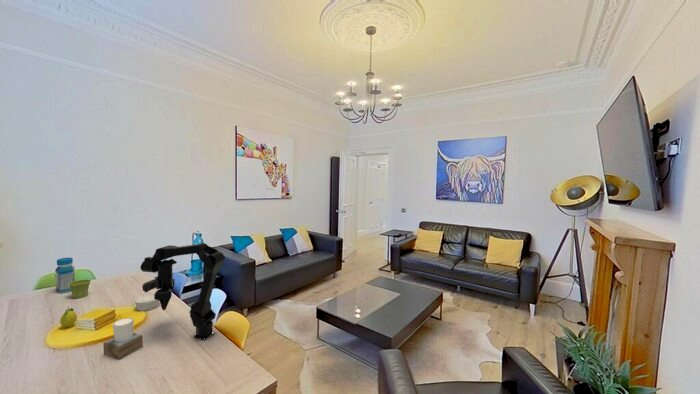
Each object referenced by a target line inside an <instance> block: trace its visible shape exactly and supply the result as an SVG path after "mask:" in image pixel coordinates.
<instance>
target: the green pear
mask: <svg viewBox="0 0 700 394" xmlns="http://www.w3.org/2000/svg"><path fill="white" fill-rule="evenodd" d="M77 320H78V316H77V313H76V312H75V311H74V308H73V307H71V308H70V306H68V305H67V309H65V312H64V313H62V315H61V316H60V320H59V321H60V325H61V326H62V327H69V326H70V327H71V326H72V325H73V324H75V323H76V322H75V321H77Z"/></svg>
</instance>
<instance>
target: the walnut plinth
mask: <svg viewBox="0 0 700 394" xmlns="http://www.w3.org/2000/svg"><path fill="white" fill-rule="evenodd" d="M143 337H144V336H143V334H139V333H135V332H133V334H132V337H131V338H130V339H128V340H126V341H123V342H116V341H115V338H114V337H112V338H110V339H108V340H106V341H104V342H103V355H104V356H107V357H111V358H114V359H116V360H122V359H123V358H125V357H127V356H129V355H131V354H132V353H133V352H136V351H137V350H139V349H141V348H142V347H144V346H143V345H144V344H143V343H144V341H143Z"/></svg>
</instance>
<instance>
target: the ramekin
mask: <svg viewBox="0 0 700 394" xmlns="http://www.w3.org/2000/svg"><path fill="white" fill-rule="evenodd" d="M154 294H155V293H150V294H145V295H141V296H139V297H137V298H136V299H134V304H135V307H136V310H138V311H140V312H145V311H150V310H154V309H155V308H157V307H158V306H159V303H160V301H159V300H156V299H154Z"/></svg>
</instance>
